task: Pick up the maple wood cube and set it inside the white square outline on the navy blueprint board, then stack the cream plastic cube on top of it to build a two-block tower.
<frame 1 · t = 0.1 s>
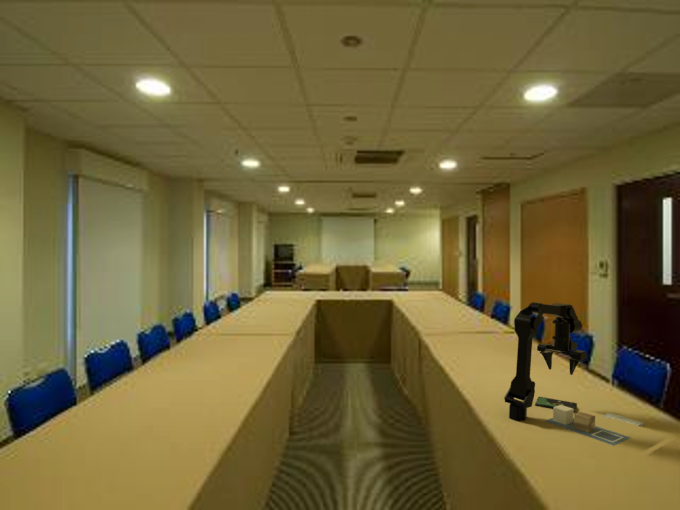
hand: (560, 371, 196), 15 cm above the table, tool pointing down, fingers open, 9 cm apart
hard drive: (621, 423, 182), on the table
blueprint board: (585, 431, 171), on the table
disk drive: (555, 409, 195), on the table
maple cube: (584, 428, 172), point 1 cm above the table, touching blueprint board
cream cube: (562, 421, 178), point 1 cm above the table, touching blueprint board
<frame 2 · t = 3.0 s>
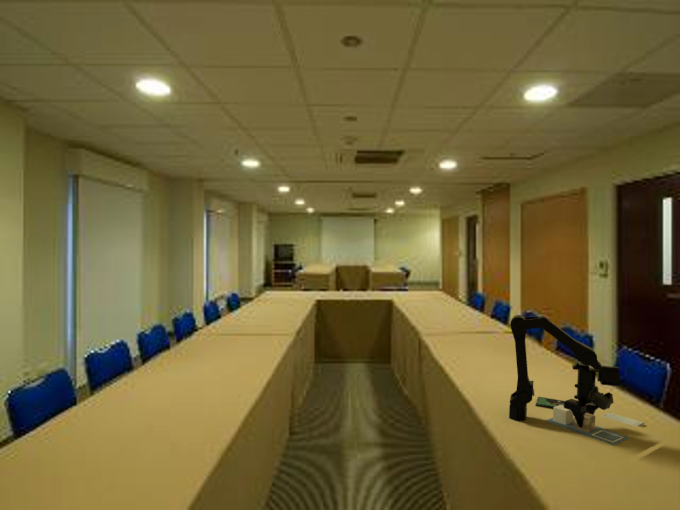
hand: (584, 425, 171), 2 cm above the table, tool pointing down, fingers closed on maple cube, 5 cm apart
maple cube: (584, 428, 172), point 1 cm above the table, touching blueprint board, gripper
everything else where it was.
when the fingers open (3 cm above the table, at t = 6.9 s): maple cube drops 1 cm, resting on blueprint board.
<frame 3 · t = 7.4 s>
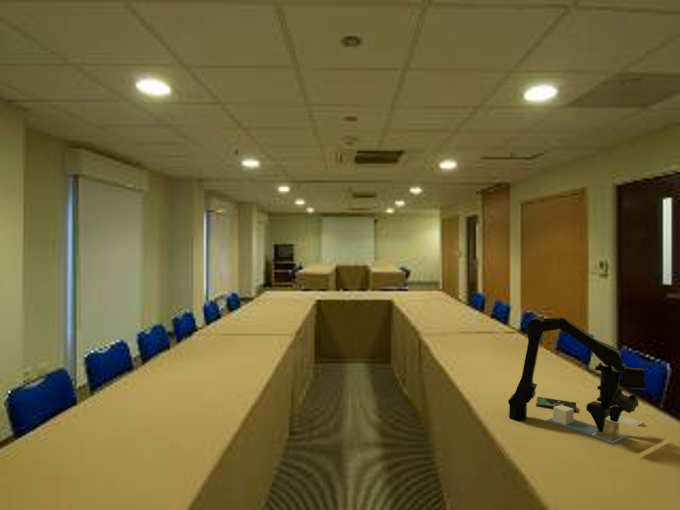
hand: (607, 429, 165), 3 cm above the table, tool pointing down, fingers open, 9 cm apart
maple cube: (607, 436, 165), point 1 cm above the table, touching blueprint board
everything else where it was.
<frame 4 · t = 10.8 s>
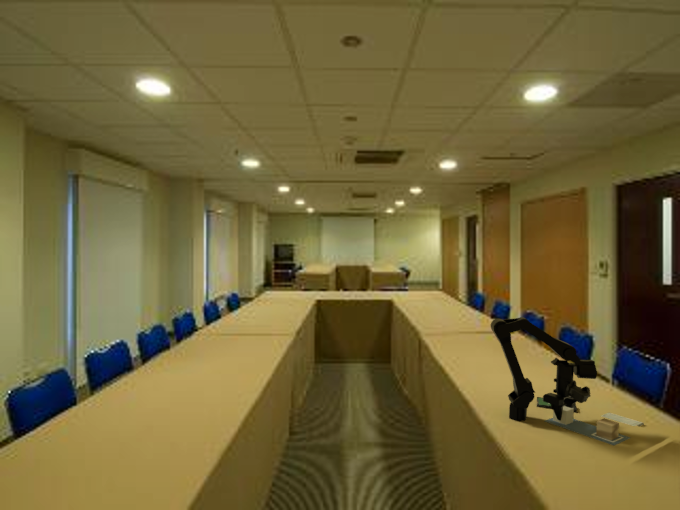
hand: (563, 418, 178), 2 cm above the table, tool pointing down, fingers closed on cream cube, 5 cm apart
cream cube: (562, 421, 178), point 1 cm above the table, touching blueprint board, gripper
everything else where it was.
when the fingers open (8 cm above the table, at t = 14.8 s): cream cube drops 1 cm, resting on maple cube.
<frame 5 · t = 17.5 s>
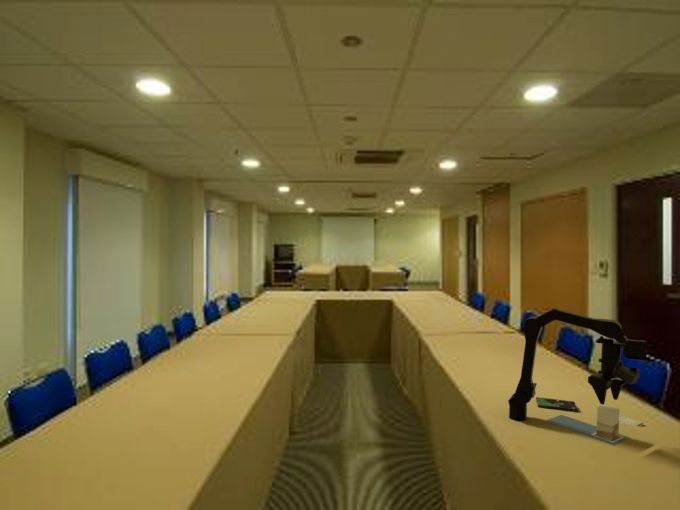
hand: (608, 401, 165), 13 cm above the table, tool pointing down, fingers open, 9 cm apart
maple cube: (607, 436, 165), point 1 cm above the table, touching blueprint board, cream cube
cream cube: (607, 421, 165), point 6 cm above the table, touching maple cube
everything else where it was.
at the end: maple cube 0.0 cm from the target spot on the blueprint board, point 1.0 cm above the blueprint board's base; cream cube 0.0 cm off-centre on the maple cube, point 5.0 cm above the maple cube's base; cream cube tilted 0° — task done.
